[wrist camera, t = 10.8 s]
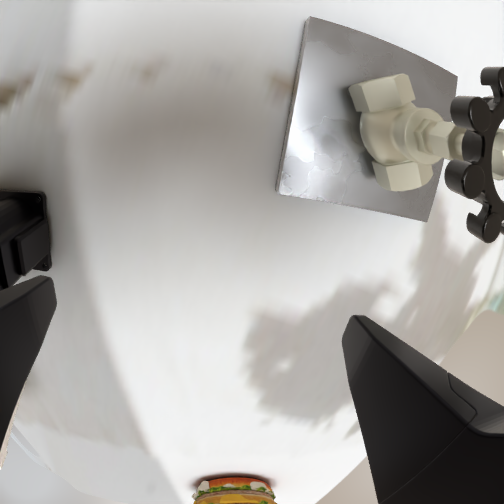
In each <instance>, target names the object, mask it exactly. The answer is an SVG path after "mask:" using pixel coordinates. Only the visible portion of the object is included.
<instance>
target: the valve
mask: <svg viewBox="0 0 504 504" xmlns="http://www.w3.org/2000/svg"><path fill="white" fill-rule="evenodd" d="M480 79H481V84H482V85H490V86H491V89H492V91H493V95H494V96H488V97H484V98H481V97H475V96H457V97H455V98H454V99H453V100H452V102H451V106H450V114H451V118H452V121H453V122H454V123H453V122H446V121H444V120H443V119H442V117H441V116H440V115H439V114H438V113H437V112H435V111H434V110H432V109H429V108H417V107H416V106H415V105H414V104H413V103H412V102H411V101H413V100H415V96H414V92H413V89H412V86H411V83H410V80H409V77H408V75H406V74H397V75H391V76H386V77H381V78H377V79H372V80H368V81H364V82H360V83H357V84H353V85H351V86H350V87H349V88H348V89H349V92H350V95H351V97H352V100H353V103H354V106H355V109H356V112H362V114H361V118H360V134H361V138H362V141H363V143H364V145H365V147H366V149H367V151H368V152H369V153H370V154H371V156H372V157H373V158H374V159H375V160H373V161H372V164H373V168H374V172H375V175H376V179H377V183H378V184H379V185H380V186H381V187H382V188H384V189H386V190H389V191H407V190H412V189H416V188H419V187H421V186H423V185H425V184H427V183H428V182H429V180H430V179H431V177H432V176H433V170H432V164H435V163H436V162H438V161H439V160H440V159H441V158H442V157H443V158H445V159H448V160H451V161H450V162H449V163H448V165H447V167H446V169H445V183H446V185H447V187H448V188H449V189H450V190H451V191H453V192H455V193H458V194H460V195H462V196H464V197H466V198H468V199H473V200H475V201H477V202H479V203H481V204H482V205H483V206H482V209H481V211H480V213H479V214H478V216H476V215H474V214H472V213H469V214H468V217H467V222H466V224H467V229H468V231H469V232H470V233H471V234H473V235H474V236H476V237H477V238H479V239H481V240H482V241H484V242H485V243H492V242H493V241H495V239H496V238H497V237H498V235H499V233H500V232H501V233H502V234H503V235H504V223H502V221H503V220H504V201H502V200H501V199H500V197H499V196H498V194H497V191H496V189H495V185H494V181H493V179H495V180H503V179H504V130H503V129H500V128H499V126H500V124H501V122H502V121H503V120H504V67H485V68H484V69H483V70H482V72H481V76H480Z"/></svg>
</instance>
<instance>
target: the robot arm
mask: <svg viewBox="0 0 504 504" xmlns="http://www.w3.org/2000/svg"><path fill="white" fill-rule="evenodd" d="M38 197H40V201H39V200H38ZM44 263H45V264H46V265H47V266H45V264H44ZM50 268H51V258H50V242H49V231H48V222H47V216H46V198H45V195H44V193H42V192H37V191H18V190H0V451H1V448H2V444H3V441H4V438H5V435H6V432H7V429H8V426H9V423H10V420H11V418H12V415H13V412H14V410H15V407H16V404H17V402H18V399H19V397H20V394H21V392H22V389H23V387H24V384H25V382H26V380H27V377H28V375H29V373H30V370H31V368H32V366H33V364H34V362H35V359H36V357H37V355H38V353H39V351H40V348H41V346H42V343H43V341H44V338H45V335H46V333H47V330H48V327H49V325H50V322H51V320H52V317H53V314H54V312H55V310H56V306H57V299H56V294H55V288H54V283H53V280H52V278H51V277H47V276H42V275H40V276H37V277H34V278H32V279H29V280H27V281H24V282H22V283H19V284H16V285H14V284H15V283H16V282H17V281H18V280H19V279H20V278H21V277H22V276H26V274H27V273H28V272H29V271H30V270H31V269H35V270H40V271H48V270H49V269H50ZM13 285H14V286H13ZM342 347H343V352H344V358H345V364H346V370H347V377H348V382H349V387H350V391H351V394H352V398H353V401H354V405H355V409H356V413H357V416H358V420H359V424H360V428H361V432H362V436H363V440H364V444H365V448H366V452H367V456H368V460H369V464H370V469H371V473H372V477H373V482H374V486H375V491H376V495H377V500H378V504H504V407H503V406H502V405H500V404H498V403H497V402H495V401H493V400H492V399H490V398H488V397H486V396H485V395H483V394H481V393H480V392H478V391H476V390H475V389H473V388H471V387H470V386H468V385H467V384H465V383H463V382H462V381H461V380H459V379H458V378H456V377H455V376H453V375H452V374H450V373H447V371H446V370H444V369H443V368H442V367H440V366H439V365H437V364H436V363H434V362H433V361H431V360H430V359H428V358H427V357H425V356H424V355H423V354H421V353H420V352H418V351H417V350H415V349H414V348H412V347H411V346H409V345H408V344H406V343H405V342H403V341H402V340H400V339H399V338H397V337H396V336H394V335H393V334H392V333H390V332H389V331H387V330H386V329H384V328H383V327H381V326H380V325H378V324H377V323H375V322H374V321H372V320H371V319H369V318H368V317H366V316H364V315H353V316H351V317H350V319H349V322H348V324H347V327H346V329H345V331H344V334H343V337H342Z"/></svg>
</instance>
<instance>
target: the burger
mask: <svg viewBox="0 0 504 504" xmlns="http://www.w3.org/2000/svg"><path fill="white" fill-rule="evenodd" d="M192 498H193V499H194V500H195V501H194V504H277V503H276V502H274V499H275V496H274V493H273V491H272V489H271V488H270V486H269V485H268V484H267V483H265V482H264V481H261V480H258V479H252V478H240V477H236V478H221V479H215V480H211V481H203V482H202V483H201V484H200V486H199V487H198V489H197V492H196V494H195V493H194V494H193V495H192Z"/></svg>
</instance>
